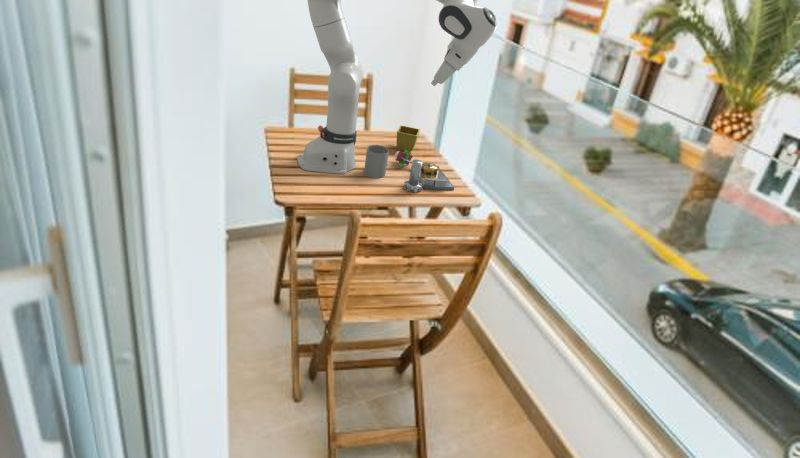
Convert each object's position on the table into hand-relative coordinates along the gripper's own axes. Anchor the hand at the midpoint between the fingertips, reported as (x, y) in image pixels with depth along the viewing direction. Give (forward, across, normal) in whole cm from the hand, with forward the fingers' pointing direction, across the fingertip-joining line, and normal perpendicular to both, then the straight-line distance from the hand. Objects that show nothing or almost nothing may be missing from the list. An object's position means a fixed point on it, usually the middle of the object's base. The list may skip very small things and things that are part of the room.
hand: (437, 77), depth 185 cm
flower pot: (+44, -10, +11) cm, 46 cm away
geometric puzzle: (+37, +6, +12) cm, 40 cm away
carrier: (+29, +12, +24) cm, 39 cm away
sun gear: (+31, +7, +22) cm, 39 cm away
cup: (+37, +20, +4) cm, 43 cm away
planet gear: (+28, +24, +18) cm, 41 cm away
